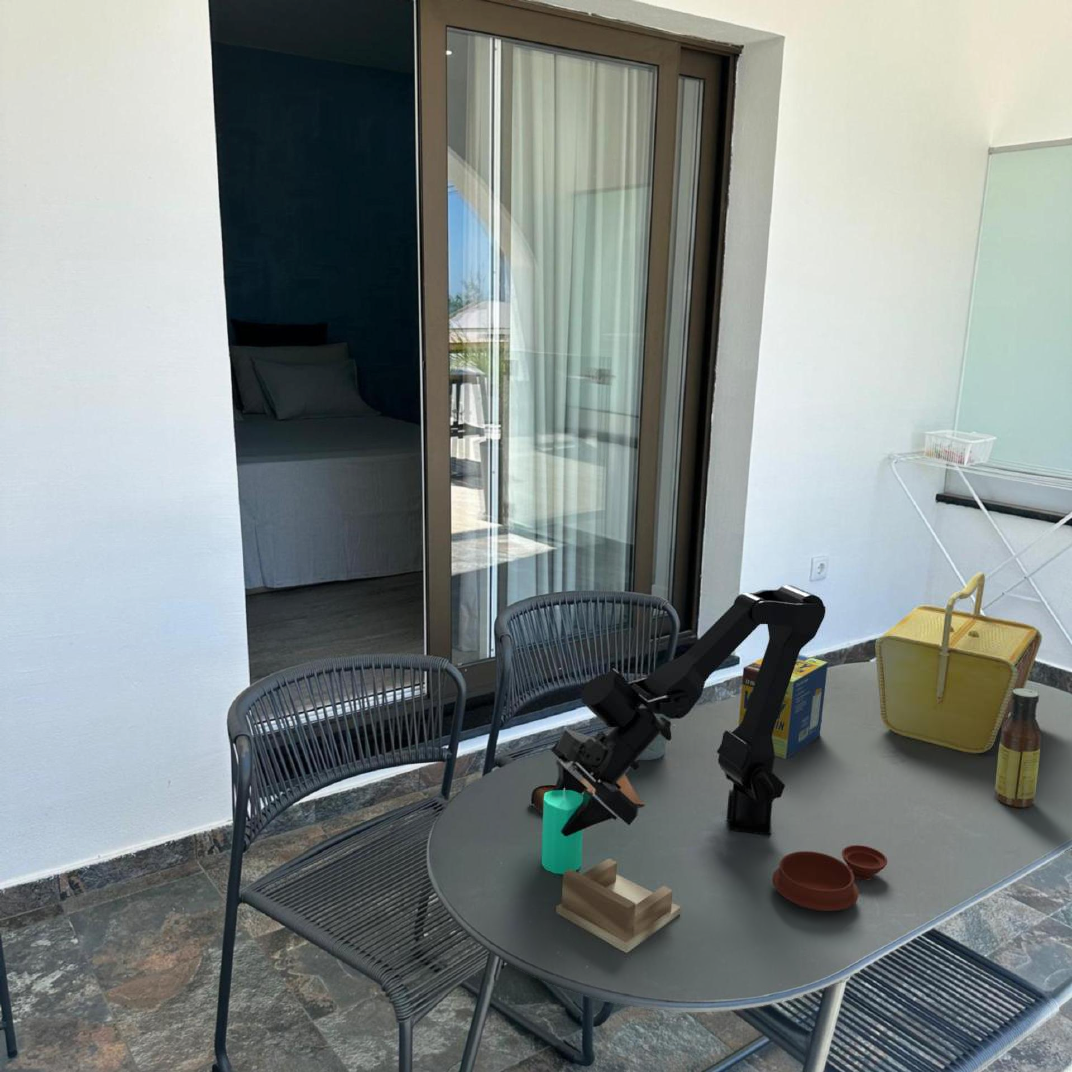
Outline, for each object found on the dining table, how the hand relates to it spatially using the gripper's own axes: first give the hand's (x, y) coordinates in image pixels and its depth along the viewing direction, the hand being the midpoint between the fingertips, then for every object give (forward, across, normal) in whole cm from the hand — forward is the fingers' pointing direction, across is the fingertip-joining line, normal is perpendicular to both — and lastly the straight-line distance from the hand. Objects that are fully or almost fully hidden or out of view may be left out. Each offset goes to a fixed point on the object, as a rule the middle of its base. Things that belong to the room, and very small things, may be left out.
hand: (554, 824), depth 141 cm
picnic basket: (-64, -19, +74) cm, 100 cm away
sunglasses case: (-4, -15, +15) cm, 21 cm away
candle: (+4, 0, +6) cm, 7 cm away
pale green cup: (-18, -30, +28) cm, 44 cm away
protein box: (-38, -25, +47) cm, 65 cm away
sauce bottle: (-54, +10, +63) cm, 84 cm away
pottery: (-20, +20, +30) cm, 41 cm away
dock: (+2, +14, +7) cm, 16 cm away
